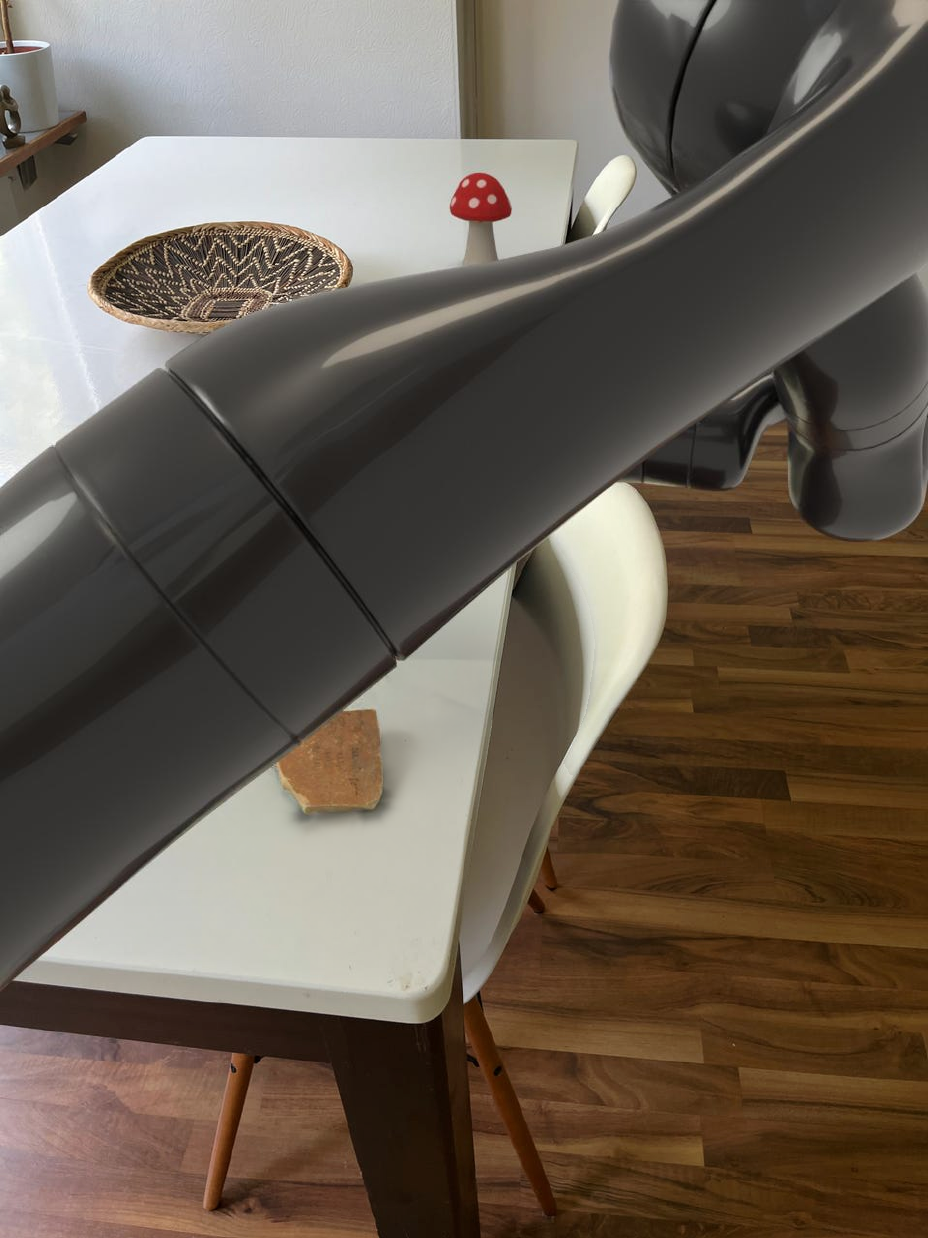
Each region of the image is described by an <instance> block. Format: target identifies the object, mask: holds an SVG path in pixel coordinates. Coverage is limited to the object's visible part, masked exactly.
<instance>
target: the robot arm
mask: <svg viewBox="0 0 928 1238" xmlns="http://www.w3.org/2000/svg"><path fill="white" fill-rule="evenodd" d="M608 77H609V87H610V93H611V98H612V105H613V107H614V110H615V114H616V117H617V121H618V123H619V126H620V127H621V129H622V132H623V134H624V136H625V138H626V140H627V141H628V143H629V144H630V146H631V147H632V148H633V150H634V151H635V152H636V154H637V155H638V157H639V158H640V159H641V160H642V162H643V163H644V164H645V165H646V167H647V168H648V169H649V170H650V172H651V173H652V174H653V176H654V177H655V178H656V179H657V181H658V183H660V185H661V186H662V187H663V188H664V189H665V191H666V192H667V193H668V195H669V196H670V197H669V198H667V199H666V200H663V201H662V202H660V203H658V204H656V205H655V206H652V207H651V208H649V209H648V210H646V211H644V212H642V213H640V214H638V215H637V216H634V217H631V218H630V219H627V220H625V221H623V222H620V223H618V224H616V225H614V226H611V227H609V228H607V229H604V230H602V231H600V232H597V233H594V234H592V235H588V236H585V237H583V238H580V239H576V240H573V241H571V242H568V243H565V244H562V245H558V246H556V247H551V248H547V249H543V250H538V251H533V252H529V253H524V254H520V255H515V256H511V257H507V258H502V259H498V260H497V261H492V262H486V263H480V264H474V265H468V266H456V267H450V268H444V269H438V270H432V271H425V272H419V273H414V274H409V275H402V276H398V277H397V276H396V277H392V278H386V279H380V280H375V281H370V282H365V283H360V284H355V285H350V286H346V287H341V288H338V289H333V290H328V291H323V292H318V293H314V294H310V295H307V296H303V297H300V298H296V299H293V300H290V301H287V302H283V303H278V304H276V305H272V306H269V307H265V308H262V309H259V310H256V311H253V312H252V313H251V312H250V313H249V314H246V315H243V316H242V317H239V318H236V319H234V320H232V321H230V322H227V323H226V324H224V325H222V326H220V327H218V328H216V329H214V330H212V331H210V332H208V333H207V334H204V335H203V336H202V337H200V338H199V339H197V340H195V341H194V342H192V343H191V344H189V345H188V346H185V348H183V349H181V350H180V351H179V352H177V353H176V354H174V355H173V356H171V357H170V358H169V359H167V360H166V361H165V362H164V368H161V367H157V368H155V369H154V370H152V372H150V373H148V374H147V375H146V376H144V377H143V378H142V379H140V380H139V381H137V382H136V383H135V384H134V385H132V386H131V387H129V388H128V389H126V390H125V391H124V392H122V393H121V394H119V395H118V396H117V397H116V398H114V399H112V400H111V401H110V402H109V403H107V404H106V405H104V406H103V407H101V408H100V409H99V410H98V411H96V412H95V413H94V414H92V415H91V416H90V417H89V418H87V419H86V420H84V421H83V422H82V423H80V424H79V425H77V426H76V427H75V428H73V429H72V430H71V431H69V432H68V433H66V434H65V435H64V436H62V437H61V438H59V439H58V440H57V441H56V442H55V444H52V445H49V446H48V447H47V448H46V449H45V450H43V451H42V452H41V453H39V454H38V455H37V456H36V457H34V458H33V459H31V461H29V462H28V463H27V464H26V465H25V466H23V467H22V468H21V469H20V470H19V471H17V472H16V473H15V474H14V475H13V476H11V477H10V478H9V479H8V480H7V481H6V482H4V484H2V485H1V486H0V992H2V991H3V990H4V989H5V988H6V987H7V986H8V985H9V984H11V983H12V982H13V981H14V980H15V979H16V978H18V976H19V975H21V974H22V973H23V972H24V971H25V970H26V969H27V968H29V967H30V966H31V965H32V964H34V962H36V961H38V960H39V958H40V957H42V956H43V955H44V954H45V953H46V952H48V950H50V949H51V948H52V947H54V946H55V945H56V944H57V943H58V942H59V941H61V940H62V939H64V937H66V935H68V934H69V933H71V932H72V931H73V930H74V929H75V928H76V927H77V926H78V925H79V924H80V923H82V922H83V921H84V920H85V919H86V918H87V917H88V916H90V914H92V913H93V912H95V911H96V910H97V909H98V908H99V907H100V906H101V905H103V904H104V903H105V902H106V901H107V900H108V899H109V898H110V897H112V896H113V895H114V894H115V893H117V891H119V890H120V889H121V888H123V886H125V884H127V883H128V882H129V881H130V880H132V878H134V877H135V876H136V875H137V874H138V873H140V872H141V871H142V870H143V869H144V868H146V867H147V866H148V865H149V864H150V863H151V862H152V861H154V860H155V859H156V858H158V857H159V856H160V855H161V854H162V853H163V852H164V851H166V850H167V849H168V848H169V847H170V846H172V845H173V844H174V843H175V842H176V841H178V840H179V839H180V838H181V837H183V836H184V835H185V834H186V833H188V832H189V831H190V830H191V829H193V828H194V827H195V826H197V824H199V823H200V822H201V821H202V820H203V819H205V818H206V817H207V816H209V815H210V814H211V813H212V812H214V811H215V810H216V809H217V808H219V807H221V806H222V805H223V804H224V803H225V802H227V801H228V800H229V799H230V798H232V797H233V796H235V795H236V794H237V793H239V792H240V791H241V790H242V789H244V788H245V787H247V786H248V785H249V784H251V783H252V782H254V780H256V779H257V778H258V777H260V776H261V775H262V774H264V773H265V772H266V771H268V770H269V769H270V768H271V767H273V766H275V764H276V763H277V762H278V761H280V760H281V759H282V758H284V757H285V756H286V755H288V754H289V753H290V752H292V751H293V750H294V749H296V748H297V747H298V746H300V745H301V744H302V741H306V740H307V739H309V738H310V737H311V736H312V735H313V734H315V733H316V732H317V731H318V730H320V729H321V728H322V727H323V726H325V725H326V724H327V723H328V722H329V721H331V720H332V719H333V718H334V717H336V716H337V715H338V714H339V713H341V712H342V711H345V709H347V708H348V707H350V706H351V704H353V703H354V702H355V701H357V700H359V698H360V697H362V696H363V695H364V694H365V693H366V692H368V691H369V690H370V689H372V688H373V687H374V686H375V685H377V684H378V683H379V682H380V681H381V680H382V679H384V678H385V677H386V676H388V675H389V674H390V673H391V672H392V671H394V670H395V669H396V668H397V666H398V661H399V662H402V661H403V662H405V661H406V660H407V659H408V658H410V656H411V655H413V654H414V653H415V652H416V651H417V650H418V649H420V647H422V646H423V645H424V644H425V643H426V642H427V641H429V640H430V639H431V638H432V637H433V636H434V635H435V634H437V633H438V632H439V631H440V630H441V629H442V628H443V627H444V626H445V625H447V624H448V623H449V622H450V621H451V620H453V618H454V617H456V616H457V615H458V614H459V613H460V612H461V611H462V610H464V609H465V608H466V607H467V606H468V605H470V604H471V603H472V602H473V601H474V600H475V599H476V598H478V597H479V596H480V595H481V594H482V593H483V592H485V590H487V589H488V588H489V587H490V586H491V585H493V584H494V583H495V582H496V581H497V580H499V578H501V577H502V576H503V575H504V574H505V573H506V572H508V571H509V570H510V569H511V568H513V567H514V566H515V565H516V564H517V563H518V562H519V561H521V560H522V559H523V558H524V557H526V556H527V555H528V554H529V553H531V552H532V551H533V550H535V549H536V547H538V546H539V545H541V543H543V542H544V541H546V540H547V539H548V538H549V537H550V536H552V534H554V533H555V532H557V531H558V530H559V529H560V528H561V527H563V526H564V525H566V524H567V523H568V522H569V521H570V520H571V519H573V518H574V517H575V516H576V515H577V514H579V513H580V512H581V511H583V510H584V508H586V507H587V506H588V505H590V504H591V503H592V502H593V501H595V500H596V499H597V498H599V497H600V496H601V495H602V494H604V493H605V492H606V491H607V490H608V489H610V488H611V487H613V486H614V485H615V484H620V483H621V484H623V483H635V484H643V483H644V484H647V485H655V486H663V487H664V486H665V487H672V488H673V487H674V488H680V489H681V488H682V489H689V490H690V489H691V490H698V491H706V492H727V491H731V490H734V489H736V488H738V486H740V485H741V483H742V482H743V481H744V480H745V477H746V475H747V474H748V471H749V469H750V466H751V464H752V461H753V458H754V456H755V454H756V451H757V447H758V444H759V443H760V440H761V438H762V436H763V435H764V434H765V432H766V431H768V430H769V429H770V428H772V427H775V426H777V425H780V424H782V423H785V422H786V427H787V446H786V447H787V450H786V458H787V459H786V460H787V461H786V463H787V464H786V467H787V489H788V496H789V500H790V503H791V506H792V507H793V509H794V511H795V512H796V514H797V515H798V516H799V518H800V519H801V520H802V521H803V522H804V523H805V524H806V525H807V526H809V527H810V528H812V529H813V530H814V531H817V532H818V533H819V534H822V535H824V536H826V537H829V538H832V539H834V540H838V541H842V542H849V543H869V542H875V541H880V540H884V539H887V538H889V537H891V536H894V535H895V534H898V533H899V532H901V531H903V530H905V529H906V528H907V527H908V526H909V525H911V524H912V523H913V522H914V521H915V520H916V518H917V517H918V516H919V514H920V513H921V510H922V509H923V506H924V503H925V500H926V499H925V498H926V494H927V489H928V488H927V486H928V293H927V291H926V288H925V286H924V284H923V282H922V279H921V276H920V275H919V273H918V271H920V270H921V269H922V268H923V267H924V266H926V265H927V264H928V0H617V2H616V5H615V11H614V13H613V19H612V23H611V32H610V41H609V50H608Z"/></svg>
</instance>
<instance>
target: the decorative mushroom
mask: <svg viewBox="0 0 928 1238" xmlns="http://www.w3.org/2000/svg"><path fill="white" fill-rule="evenodd" d="M512 211H513V208H512V203H511V200H510V198H509V197H508V195H507V193H506V191H505V188H504V187H503V185H502V184H501V182H500V181H499V180H498V179H497V178H496V177H494V176H493V175H491V174H489V173H486V172H473V173H471V174H468V175H466V176H465V177H464V178H462V179H461V180H460V182H459V183H458V185H457V187H456V189H455V191H454V194H453V196H452V198H451V199H450V204H449V212H450V214H451V215H452V216H453V217H455V218H458V219H460V220H463V221H466V222H468V232H467V239H466V246H465V252H464V257H463V260H462V263H461V265H462V266H468V265H474V264H480V263H486V262H492V261H497V260H499V257H498V253H497V247H496V239H495V233H494V223H495V222H499V221H503V220H505V219H508V218H510V217H511V215H512Z"/></svg>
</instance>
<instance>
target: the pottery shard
mask: <svg viewBox="0 0 928 1238" xmlns="http://www.w3.org/2000/svg"><path fill="white" fill-rule="evenodd" d="M377 713H378V712H377V709H375V708H363V709H354V710H353V709H352V710H343V711H342V712H341V713H339V714H338V715H337V716H336V717H334V718H333V719H332V720H331V721H329V722H328V723H327V724H326V725H325V726H323V727H322V728H321V729H320V730H318V731H317V732H316V733H315V734H313V735H312V736H311V737H310V738H309V739H307V740H306V741H302V744H301V745H300V746H298V747H297V748H296V749H294V750H293V751H292V752H290V753H289V754H288V755H286V756H285V757H284V758H282V759H281V760H280V761H278V762H277V763H276V764H274V766H275V767H276V770H277V771H278V774H279V780H280V783H281V788H282V789H284V790H286V791H287V792H288V793H290V794H291V795H292V796H293V797H294V799H295V800H296V801H297V802H298V804H299V805H300V808H301V809H302V812H303V813H304V814H305V815H312V814H314V813H323V812H333V813H334V812H335V813H337V812H339V813H340V812H350V811H351V812H352V811H357V810H374V809H375V808H376V806H377V805H378V803H379V802H380V799H381V797H382V795H383V786H384V785H383V784H384V783H383V782H384V780H383V758H382V757H381V753H380V747H381V744H382V738H381V731H380V727H379V719H378V714H377Z"/></svg>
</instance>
